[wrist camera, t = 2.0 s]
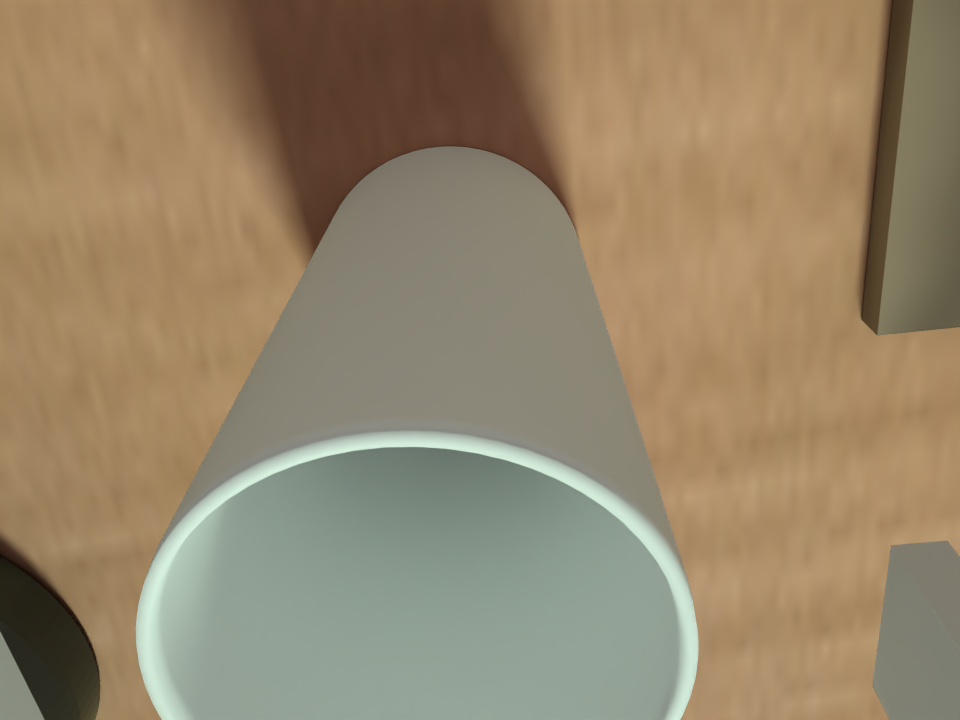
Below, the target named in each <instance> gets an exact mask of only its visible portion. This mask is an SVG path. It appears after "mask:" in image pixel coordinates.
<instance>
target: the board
mask: <svg viewBox="0 0 960 720" xmlns="http://www.w3.org/2000/svg"><path fill="white" fill-rule="evenodd" d="M862 321H863V322H864V323H865V324H866V325H867V326H868V327H869V328H870V329H871V330H872V331H873V332H874V333H875V334H876V335H886V334H896V333H906V332H916V331H925V330H935V329H945V328H955V327H960V0H893V5H892V15H891V25H890V36H889V46H888V56H887V66H886V76H885V87H884V97H883V107H882V117H881V127H880V138H879V148H878V158H877V168H876V178H875V189H874V199H873V209H872V219H871V229H870V240H869V250H868V260H867V270H866V280H865V291H864V301H863V311H862Z"/></svg>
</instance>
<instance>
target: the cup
mask: <svg viewBox="0 0 960 720" xmlns="http://www.w3.org/2000/svg"><path fill="white" fill-rule="evenodd" d="M136 647H137V653H138V660H139V666H140V670H141V673H142V677H143V680H144V683H145V686H146V689H147V691H148V693H149V696H150V698H151V701H152V703H153V705H154V707H155V709H156V710H157V712H158V714H159V716H160V717H161V719H162V720H680V719H681V717H682V715H683V713H684V711H685V708H686V706H687V703H688V701H689V698H690V696H691V692H692V688H693V685H694V681H695V677H696V670H697V662H698V632H697V625H696V618H695V611H694V605H693V599H692V594H691V590H690V587H689V583H688V580H687V576H686V573H685V570H684V567H683V563H682V560H681V557H680V554H679V551H678V548H677V545H676V541H675V538H674V535H673V532H672V529H671V526H670V523H669V519H668V516H667V513H666V510H665V507H664V504H663V501H662V497H661V494H660V491H659V488H658V485H657V482H656V479H655V475H654V472H653V469H652V466H651V463H650V460H649V457H648V454H647V451H646V448H645V444H644V441H643V438H642V435H641V432H640V429H639V426H638V423H637V420H636V417H635V413H634V410H633V407H632V404H631V401H630V398H629V395H628V392H627V389H626V386H625V382H624V379H623V376H622V373H621V370H620V367H619V364H618V361H617V358H616V355H615V351H614V348H613V345H612V342H611V339H610V336H609V333H608V330H607V327H606V324H605V320H604V317H603V314H602V311H601V308H600V305H599V302H598V299H597V296H596V293H595V289H594V286H593V283H592V280H591V277H590V274H589V271H588V268H587V265H586V262H585V259H584V255H583V252H582V249H581V246H580V243H579V240H578V237H577V234H576V231H575V229H574V226H573V224H572V221H571V219H570V217H569V216H568V214H567V212H566V210H565V208H564V207H563V205H562V204H561V202H560V201H559V200H558V198H557V197H556V196H555V195H554V193H553V192H552V191H551V190H550V189H549V188H548V187H547V186H546V185H545V184H544V183H543V182H542V181H541V180H540V179H539V178H537V177H536V176H535V175H534V174H532V173H531V172H530V171H528V170H527V169H525V168H524V167H522V166H520V165H519V164H517V163H515V162H513V161H511V160H509V159H507V158H505V157H502V156H500V155H497V154H494V153H491V152H487V151H484V150H480V149H474V148H468V147H456V146H447V147H434V148H426V149H422V150H417V151H413V152H410V153H407V154H404V155H401V156H399V157H397V158H394V159H392V160H390V161H388V162H386V163H385V164H383V165H381V166H379V167H378V168H376V169H375V170H373V171H372V172H371V173H369V174H368V175H367V176H365V177H364V178H363V179H362V180H361V181H360V182H359V183H358V184H357V185H356V186H355V187H354V188H353V189H352V190H351V191H350V192H349V194H348V195H347V196H346V198H345V199H344V200H343V202H342V203H341V205H340V206H339V208H338V210H337V212H336V213H335V215H334V217H333V219H332V221H331V223H330V224H329V226H328V228H327V230H326V232H325V234H324V236H323V238H322V239H321V241H320V243H319V245H318V247H317V249H316V251H315V252H314V254H313V256H312V258H311V260H310V262H309V264H308V266H307V267H306V269H305V271H304V273H303V275H302V277H301V279H300V281H299V282H298V284H297V286H296V288H295V290H294V292H293V294H292V295H291V297H290V299H289V301H288V303H287V305H286V307H285V309H284V310H283V312H282V314H281V316H280V318H279V320H278V322H277V324H276V325H275V327H274V329H273V331H272V333H271V335H270V337H269V338H268V340H267V342H266V344H265V346H264V348H263V350H262V352H261V353H260V355H259V357H258V359H257V361H256V363H255V365H254V367H253V368H252V370H251V372H250V374H249V376H248V378H247V380H246V381H245V383H244V385H243V387H242V389H241V391H240V393H239V395H238V396H237V398H236V400H235V402H234V404H233V406H232V408H231V410H230V411H229V413H228V415H227V417H226V419H225V421H224V423H223V424H222V426H221V428H220V430H219V432H218V434H217V436H216V438H215V439H214V441H213V443H212V445H211V447H210V449H209V451H208V453H207V454H206V456H205V458H204V460H203V462H202V464H201V466H200V468H199V470H198V471H197V473H196V475H195V477H194V479H193V481H192V483H191V485H190V487H189V488H188V490H187V492H186V494H185V496H184V498H183V500H182V502H181V504H180V505H179V507H178V509H177V511H176V513H175V515H174V517H173V519H172V521H171V522H170V524H169V526H168V528H167V530H166V532H165V534H164V536H163V538H162V539H161V541H160V543H159V545H158V548H157V550H156V553H155V555H154V557H153V560H152V562H151V565H150V568H149V570H148V573H147V576H146V579H145V582H144V585H143V589H142V593H141V597H140V600H139V604H138V612H137V621H136Z"/></svg>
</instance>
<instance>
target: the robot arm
mask: <svg viewBox="0 0 960 720" xmlns="http://www.w3.org/2000/svg"><path fill="white" fill-rule="evenodd" d="M872 686H873V688H874V690H875V692H876V694H877V696H878V698H879V700H880V702H881V704H882V706H883V708H884V710H885V711H886V713H887V715H888V717H889V719H890V720H960V557H959V555H958V554H957V553H956V551H955V550H954V549H953V547H952V546H951V545H950V543H949V542H948V541H939V542H927V543H915V544H902V545H891V550H890V558H889V565H888V573H887V580H886V588H885V595H884V603H883V610H882V618H881V625H880V633H879V640H878V648H877V655H876V663H875V670H874V678H873V685H872ZM99 700H100V683H99V675H98V670H97V666H96V663H95V659H94V657H93V654H92V652H91V649H90V647H89V645H88V643H87V641H86V639H85V637H84V635H83V634H82V632H81V630H80V629H79V627H78V626H77V624H76V623H75V621H74V620H73V619H72V617H71V616H70V615H69V614H68V612H67V611H66V610H65V609H64V608H63V606H62V605H61V604H60V603H59V602H58V601H57V600H56V599H55V598H54V597H53V596H52V595H51V594H50V593H49V592H48V591H47V590H46V589H45V588H44V587H42V586H41V585H40V584H39V583H38V582H36V581H35V580H34V579H33V578H31V577H30V576H29V575H27V574H26V573H25V572H23V571H22V570H21V569H19V568H18V567H16V566H15V565H13V564H12V563H10V562H9V561H7V560H5V559H4V558H2V557H0V720H95V718H96V715H97V711H98V707H99Z"/></svg>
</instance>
